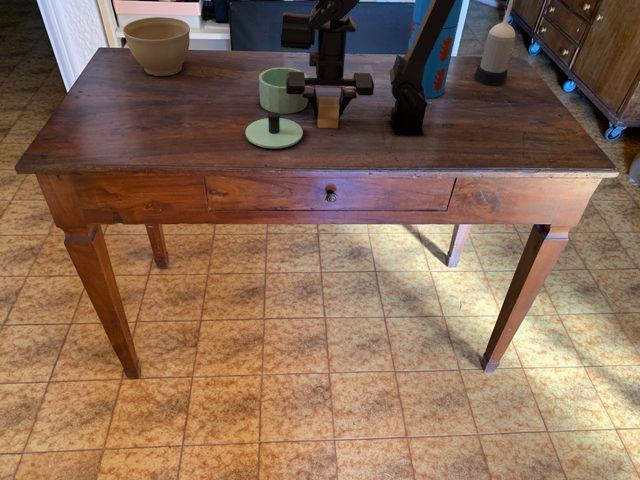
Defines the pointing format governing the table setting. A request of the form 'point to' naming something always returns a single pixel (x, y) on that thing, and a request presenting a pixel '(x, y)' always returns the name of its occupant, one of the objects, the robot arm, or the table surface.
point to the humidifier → (496, 53)
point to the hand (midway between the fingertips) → (327, 119)
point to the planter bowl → (158, 44)
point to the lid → (274, 132)
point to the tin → (279, 92)
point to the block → (328, 112)
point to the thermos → (436, 47)
